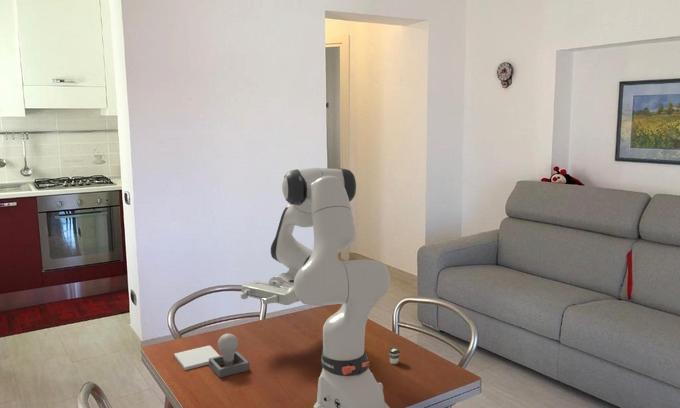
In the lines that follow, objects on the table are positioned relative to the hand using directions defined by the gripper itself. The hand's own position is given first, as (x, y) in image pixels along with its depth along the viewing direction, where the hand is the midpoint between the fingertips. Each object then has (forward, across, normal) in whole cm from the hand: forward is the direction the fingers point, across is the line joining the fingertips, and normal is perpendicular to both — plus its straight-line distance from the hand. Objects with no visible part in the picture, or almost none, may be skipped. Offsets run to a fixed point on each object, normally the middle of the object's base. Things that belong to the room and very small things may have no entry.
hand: (253, 299), depth 182 cm
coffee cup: (-18, +42, +19) cm, 49 cm away
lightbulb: (+12, 0, +19) cm, 22 cm away
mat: (+13, -13, +19) cm, 26 cm away
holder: (+12, 0, +18) cm, 22 cm away
